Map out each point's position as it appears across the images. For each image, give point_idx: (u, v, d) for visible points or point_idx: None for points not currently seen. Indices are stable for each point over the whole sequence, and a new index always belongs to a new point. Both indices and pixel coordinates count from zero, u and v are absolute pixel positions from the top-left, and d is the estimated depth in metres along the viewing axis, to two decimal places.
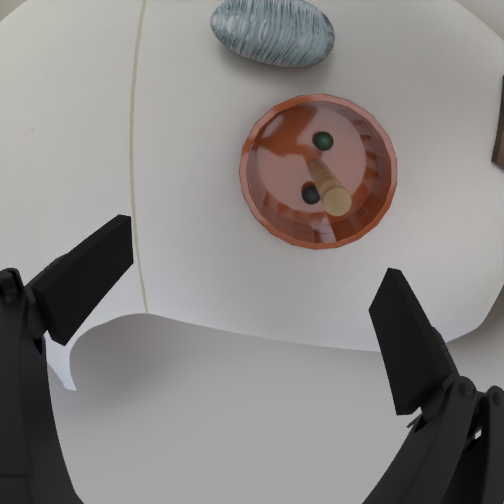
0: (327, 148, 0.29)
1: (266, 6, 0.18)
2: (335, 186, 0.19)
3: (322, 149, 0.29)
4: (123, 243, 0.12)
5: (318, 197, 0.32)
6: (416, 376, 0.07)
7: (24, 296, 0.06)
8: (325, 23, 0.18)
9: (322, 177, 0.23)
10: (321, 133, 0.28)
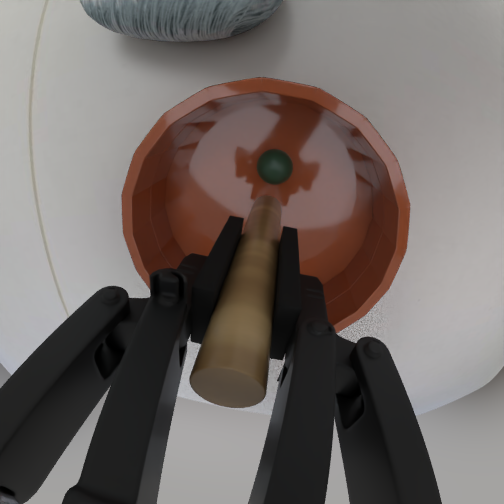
0: (280, 181, 0.17)
1: None
2: (220, 353, 0.07)
3: (271, 182, 0.17)
4: None
5: None
6: None
7: (185, 305, 0.08)
8: None
9: (230, 278, 0.10)
10: (268, 153, 0.16)
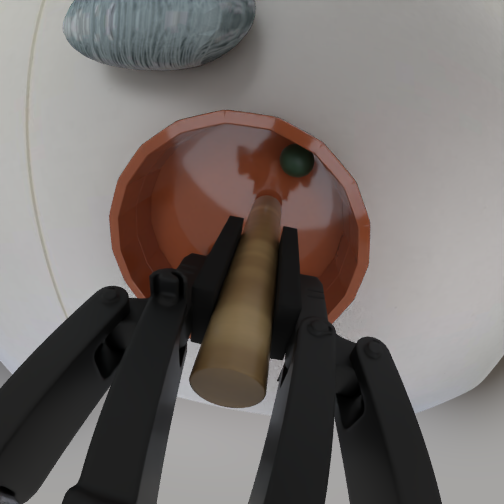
0: None
1: None
2: (220, 353, 0.07)
3: None
4: None
5: None
6: None
7: (185, 305, 0.08)
8: None
9: (229, 278, 0.10)
10: None
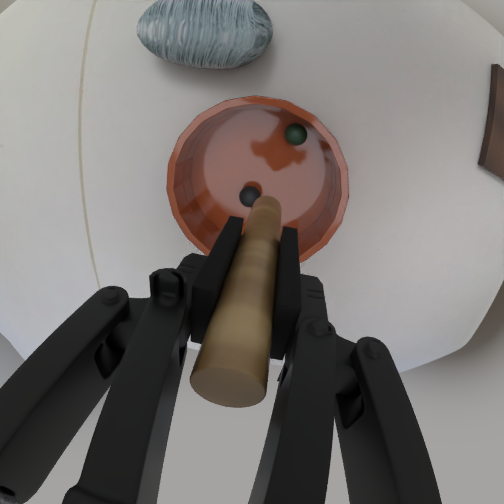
0: None
1: (185, 5, 0.15)
2: (220, 353, 0.07)
3: None
4: None
5: (258, 191, 0.29)
6: None
7: (185, 305, 0.08)
8: (253, 13, 0.16)
9: (230, 278, 0.10)
10: None
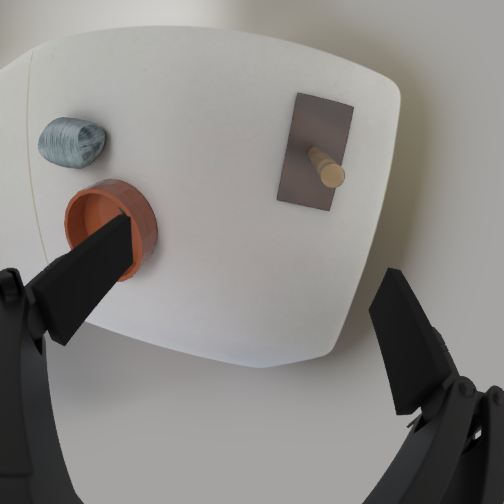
0: None
1: (50, 140, 0.31)
2: (330, 162, 0.22)
3: None
4: (123, 243, 0.12)
5: None
6: (416, 376, 0.07)
7: (24, 296, 0.06)
8: (78, 141, 0.32)
9: (320, 158, 0.26)
10: None
